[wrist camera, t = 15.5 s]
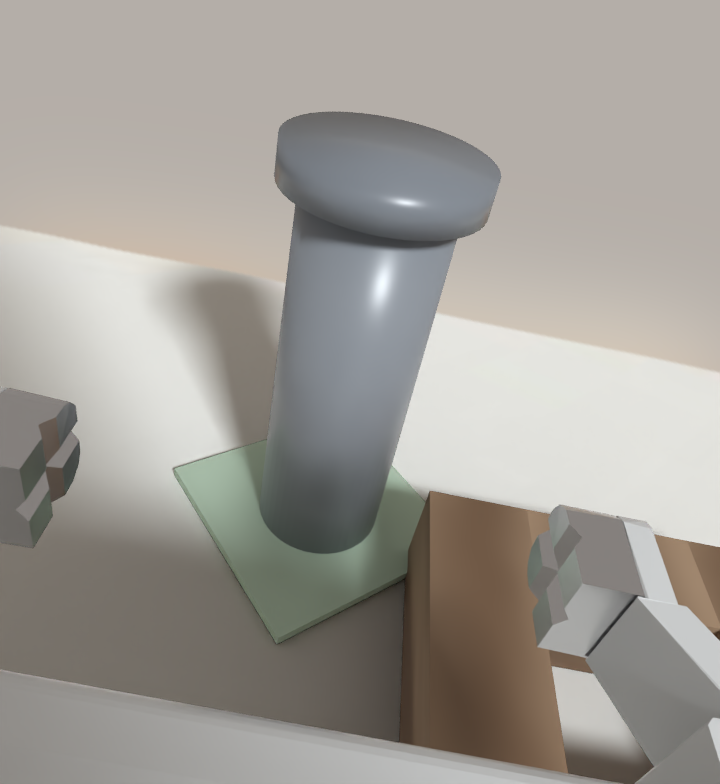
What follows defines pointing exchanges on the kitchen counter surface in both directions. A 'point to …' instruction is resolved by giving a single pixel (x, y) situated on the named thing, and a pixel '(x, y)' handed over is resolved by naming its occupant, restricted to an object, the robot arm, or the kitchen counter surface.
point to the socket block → (499, 632)
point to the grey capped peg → (358, 309)
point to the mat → (285, 563)
